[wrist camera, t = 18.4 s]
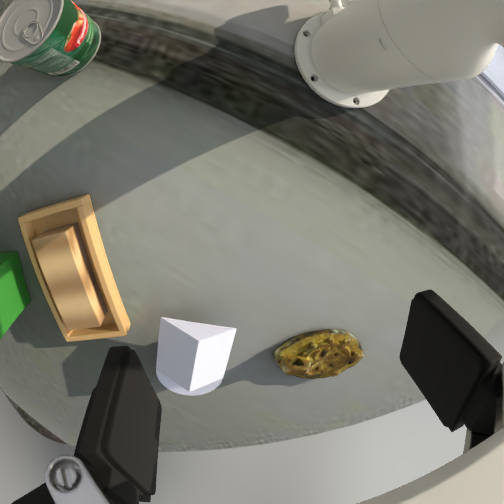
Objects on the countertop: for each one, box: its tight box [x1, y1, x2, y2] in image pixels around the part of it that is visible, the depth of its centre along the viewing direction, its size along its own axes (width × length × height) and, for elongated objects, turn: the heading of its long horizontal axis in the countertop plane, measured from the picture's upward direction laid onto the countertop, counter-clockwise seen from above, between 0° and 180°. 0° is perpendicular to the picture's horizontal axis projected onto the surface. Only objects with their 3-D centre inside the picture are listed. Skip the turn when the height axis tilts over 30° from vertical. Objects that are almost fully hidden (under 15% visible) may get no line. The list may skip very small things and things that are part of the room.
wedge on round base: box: [156, 317, 236, 396], centre depth 36 cm, size 9×7×13 cm
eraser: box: [32, 222, 108, 330], centre depth 31 cm, size 12×5×4 cm, turn 8°
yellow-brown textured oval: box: [273, 329, 364, 379], centre depth 41 cm, size 9×5×15 cm
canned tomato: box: [0, 0, 101, 78], centre depth 18 cm, size 8×8×11 cm
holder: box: [18, 194, 131, 342], centre depth 32 cm, size 18×10×3 cm, turn 8°
